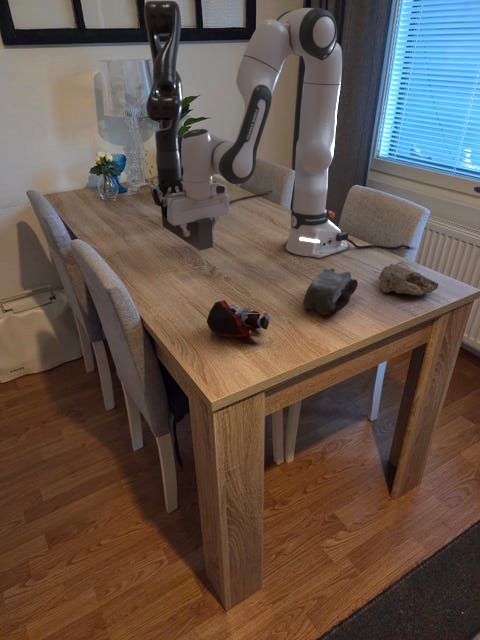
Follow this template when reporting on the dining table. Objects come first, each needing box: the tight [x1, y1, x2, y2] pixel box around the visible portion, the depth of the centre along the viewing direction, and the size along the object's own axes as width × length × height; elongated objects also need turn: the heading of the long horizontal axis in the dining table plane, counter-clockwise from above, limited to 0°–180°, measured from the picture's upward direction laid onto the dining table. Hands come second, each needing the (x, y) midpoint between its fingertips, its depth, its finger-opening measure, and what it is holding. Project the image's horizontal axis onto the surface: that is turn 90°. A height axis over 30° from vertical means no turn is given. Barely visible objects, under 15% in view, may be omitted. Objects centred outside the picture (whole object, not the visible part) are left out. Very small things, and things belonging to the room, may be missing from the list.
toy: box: [206, 299, 271, 345], centre depth 109 cm, size 12×9×15 cm
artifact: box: [378, 261, 439, 296], centre depth 132 cm, size 18×7×15 cm
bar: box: [161, 205, 214, 252], centre depth 146 cm, size 26×5×9 cm, turn 34°
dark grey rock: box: [302, 268, 359, 317], centre depth 123 cm, size 18×11×8 cm, turn 152°
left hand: (172, 215), depth 152 cm, fingers closed on bar, 5 cm apart
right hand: (199, 233), depth 139 cm, fingers open, 8 cm apart
